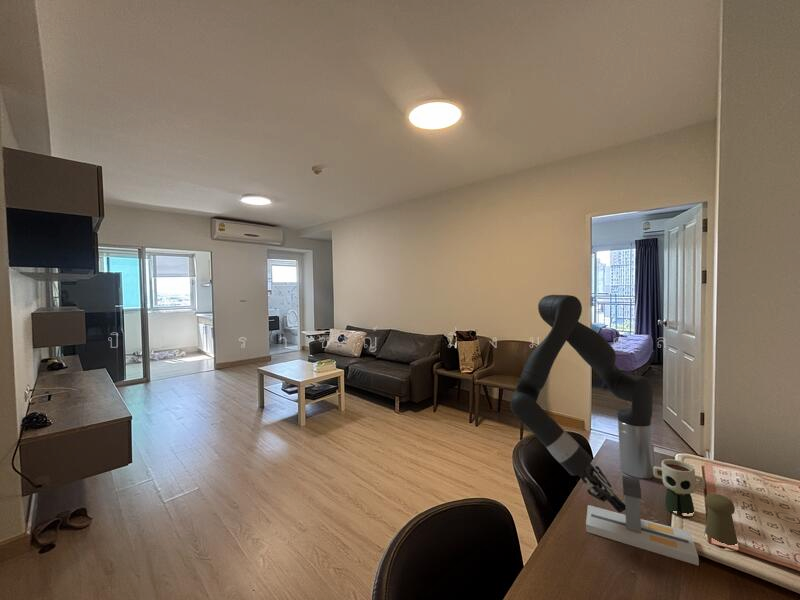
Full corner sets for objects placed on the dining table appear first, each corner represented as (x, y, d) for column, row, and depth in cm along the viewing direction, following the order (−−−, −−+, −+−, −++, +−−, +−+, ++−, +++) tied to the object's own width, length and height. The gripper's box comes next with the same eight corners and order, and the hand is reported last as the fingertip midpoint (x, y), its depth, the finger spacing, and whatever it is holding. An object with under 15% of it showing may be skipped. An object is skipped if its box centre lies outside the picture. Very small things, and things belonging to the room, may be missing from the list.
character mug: (654, 510, 92) (652, 464, 92) (655, 498, 97) (653, 454, 97) (707, 526, 85) (704, 477, 85) (705, 512, 90) (703, 465, 90)
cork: (746, 552, 76) (744, 505, 76) (716, 550, 77) (714, 503, 77) (726, 534, 82) (724, 490, 82) (698, 531, 83) (696, 488, 83)
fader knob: (625, 530, 82) (623, 486, 82) (624, 516, 87) (622, 475, 87) (642, 535, 80) (640, 490, 80) (641, 521, 85) (639, 478, 85)
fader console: (586, 531, 85) (585, 523, 85) (588, 511, 93) (587, 504, 93) (698, 565, 73) (698, 556, 73) (690, 539, 81) (690, 531, 81)
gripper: (575, 455, 84) (636, 517, 77) (580, 435, 95) (633, 489, 89) (554, 470, 87) (611, 532, 80) (560, 449, 98) (611, 502, 91)
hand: (622, 509), depth 84 cm, fingers closed
